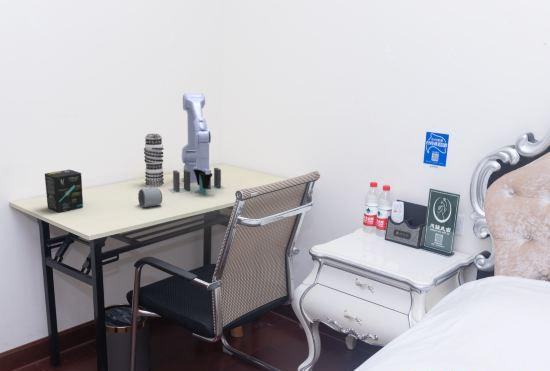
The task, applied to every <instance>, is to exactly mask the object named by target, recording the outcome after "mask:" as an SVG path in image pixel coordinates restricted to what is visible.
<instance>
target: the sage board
mask: <svg viewBox="0 0 550 371" xmlns="http://www.w3.org/2000/svg"><path fill="white" fill-rule="evenodd" d="M167 189H168V191H169V192H170V193H172V194H179V193H180V194H182V193H193V192H194V193H195V192H199V186H190V191H186V190H185V189H184V187H180V192H176V191H175V190H173V188H167ZM226 189H227V188H226V187H224V186H223V185H221V188H218V189H217V188H216V187H215V186H214V184H213V185H212V184H211V189H206V191H214V190H215V191H217V190H226Z"/></svg>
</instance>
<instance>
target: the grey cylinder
mask: <svg viewBox="0 0 550 371" xmlns="http://www.w3.org/2000/svg"><path fill="white" fill-rule="evenodd" d="M137 195H138V196H137V197H138V198H137V199H138V203H139V206H140V207H141V208H150V207H157V206H160V205H161V204H162V202H163V193H162V191H161V190H160V188H157V187H156V188H141V189H139V190H138V194H137Z"/></svg>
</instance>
